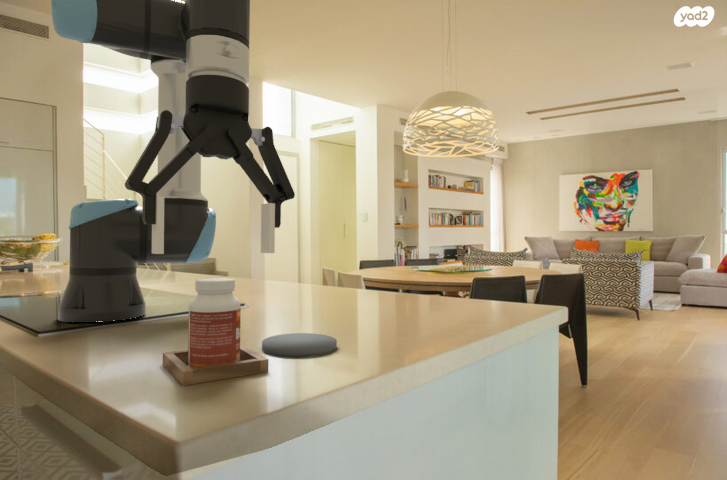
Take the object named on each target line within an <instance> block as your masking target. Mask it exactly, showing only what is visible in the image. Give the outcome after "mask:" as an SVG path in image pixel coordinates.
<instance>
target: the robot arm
mask: <svg viewBox="0 0 727 480" xmlns="http://www.w3.org/2000/svg"><path fill="white" fill-rule="evenodd" d="M50 2H51V3H50V4H51V6H50V8H51V16H52V17H51V18H52V25H53V29H54V31H55V33H56V34H57V35H58V36H59V37H61V38H64V39H68V40H72V41H76V42H79V43H83V44H91V45H98V46H101V47H104V48H106V49H109V50H112V51H114V52H117V53H120V54H122V55H124V56H125V55H126V56H129V57H133V58H139V59H143V60H149V61H150V70H151V71H152V73H153V74H154V75H155V76H156V77H158V80H157V81H158V86H157V88H158V95H157V97H158V99H157V101H158V102H157V104H158V105H157V106H158V107H157V117H156V121H155V122H156V123H155V129H154V133H153V134H152V136H151V138H150V140H149V141H148V144H146V146H145V148H144V150H143V152H142V154H141V156H139V158H138V160H137V161H136V163H135V165H134V167H133V169H132V170H131V172H130V174H129V176H127V179H126V181H125V183H124V187H125V189H126V190H128V191H131V192H132V191H133V192H135V193H138V194H139V195H140V196H141V198H142V206H139V202H138V200H137V199H135V198H115V199H102V200H91V201H83V202H79V203H76V204H75V205H74V206H72V208H71V211H70V219H69V220H70V221H69V226H68V230H69V233H70V235H69V274H68V275H69V278H68V282H67V284H66V287H65V290H64V292H63V296H62V297H61V299H60V303H59V305H58V309H57V320H58V321H59V322H62V323H68V322H72V324H74V323H73V322H96V321H97V322H98V321H113V320H123V319H130V318H135V317H139V316H142V317H144V316H145V315H146V309H147V307H146V306H147V305H146V301H145V299H144V295H143V292H142V290H141V286H140V284H139V280H138V277H137V269H138V268H137V266H138V264H188V263H191V264H192V263H202V262H205V261H206V260H207V259H208V258H209V256H210V255H211V252H212V250H213V245H214V240H215V235H216V227H217V218H216V217H217V213H216V210H215V209H213V208H211V207H210V208H209V200H208V198H206V197H205V195H203V193H202V188H201V187H202V186H201V183H202V182H201V181H202V179H201V178H202V177H201V175H202V158H213V157H215V158H218V159H221V160H230V159H233V160H234V162H235V163H236V164H237V165H239V167H240V168H241V169H242V170H243V172H244V173H245V174H246V175H247V177H248V178H249V179H250V181H251V183H253V185H254V187H256V189H257V191H258V192H259V193H260V194H261V196H262V197H263V198H264V200H265V201H266V202H267V203H261V205H260V207H261V208H260V209H261V211H260V213H261V214H260V253H262V254H275V250H276V249H275V248H276V247H275V240H276V239H275V238H276V235H275V233H276V229H277V228H279V229H280V227H281V223H282V222H281V221H282V219H281V218H282V216H281V215H282V204H283V203H284V202H286V201H289V200H293V199H294V198H295V195H296V194H295V191H294V189H293V187H292V184H291V181H290V180H289V177H288V175H287V172H286V170H285V168H284V167H285V166H284V165H283V163H282V160H281V159H280V158H281V157H280V156H279V153H278V151H277V148H276V146H275V144H274V133H273V129H272V128H271V127H270V126H266V127H264V128H252V127H251V125H250V122H249V114H250V89H249V87H248V85H247V84H248V83H249V82H250V30H251V29H250V25H251V24H250V21H251V18H250V17H251V15H250V14H251V13H250V12H251V0H184V1H181V0H50ZM250 139H252V140H253V143H254V145H256V146H257V148H258V152H259V154H260V157H261V159H262V162H263V164H264V166H265V168H266V170H267V172H268V175H269V176H268V175H267V174H266V172H265V171H264V169H262V167H261V165H260V164H259V163H258V160H257V159H255V157H254V154H253V152H252V150H251V149H250V148H249V147H248V145H247V143H248V142H249V140H250ZM156 158H157V174H156V175H155V176H153V178H152V179H151V180H150V181H149V182H148V183H147V182H145V181H144V179H145V177H146V175H147V174H148V172H149V171H150V169H151V167H152V165H153V163H154V161H156ZM269 177H270V178H269ZM143 315H144V316H143ZM139 318H140V317H139ZM135 319H136V318H135ZM130 320H131V319H130ZM123 321H124V320H123Z"/></svg>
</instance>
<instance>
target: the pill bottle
mask: <svg viewBox="0 0 727 480" xmlns="http://www.w3.org/2000/svg"><path fill="white" fill-rule="evenodd" d="M235 281H236V280H235V279H234V278H227V277H226V278H225V277H223V278H221V277H217V278H215V277H214V278H212V277H211V278H208V277H207V278H199V279H195V282H194V283H195V286H194V287H195V292H196V293H197V295H196V296H195V297H194V298H192V299H191V300H190V302H189V305H188V330H187V331H188V334H187V335H188V336H187V337H188V341H187V343H188V348H187V350H188V363H187V364H188V365H187V366H188V367H189V368H197V367H204V366H210V365H217V364H224V363H231V362H238V361H241V360H240V344H241V302H240V299H239V298H238V297H237V296H235V295H234V294H233V292H235V290H236V289H235V288H236V282H235Z"/></svg>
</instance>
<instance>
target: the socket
mask: <svg viewBox="0 0 727 480" xmlns="http://www.w3.org/2000/svg"><path fill="white" fill-rule="evenodd" d="M187 364H188V349H183V350H175V351H166V352H162V366H163V367H164V368H165V369H166V370H167V371H168V372H169V373H170V374H171V375H172V376H173V377H174V378H175V379H176V380H177V382H179V383H180V384H181V385H182V386H183V387H184V386H189V385H190V386H191V385H194V384H202V383H206V382H207V383H208V382H213V381H218V380H226V379H232V378H237V377H244V376H250V375H255V374H261V373H262V374H263V373H267V372H269V358H267V357H265V356H263V355H261V354H260V353H258V352H256V351H254V350H252V349H251V348H248V347H247V346H244V345H243V344H241V343H240V361H238V362H231V363H224V364H217V365H210V366H204V367H197V368H189V367H188V365H187Z"/></svg>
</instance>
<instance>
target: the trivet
mask: <svg viewBox="0 0 727 480" xmlns="http://www.w3.org/2000/svg"><path fill="white" fill-rule="evenodd" d="M337 342H338V341H337V339H336V338H335V337H333V336H330V335H326V334H321V333H320V334H319V333H310V332H309V333H308V332H307V333H306V332H300V333H299V332H296V333H294V332H293V333H283V334H276V335H272V336H269V337H266V338H264V339H263V340H262V341H261V350H262V351H263V352H264V353H265V354H267V355H268V354H269V355H271V356H276V357H277V356H278V357H285V358H286V357H288V358H305V357H318V356H322V355H328V354H329V353H332V352H334V351H336V349H337V346H338V345H337Z"/></svg>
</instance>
